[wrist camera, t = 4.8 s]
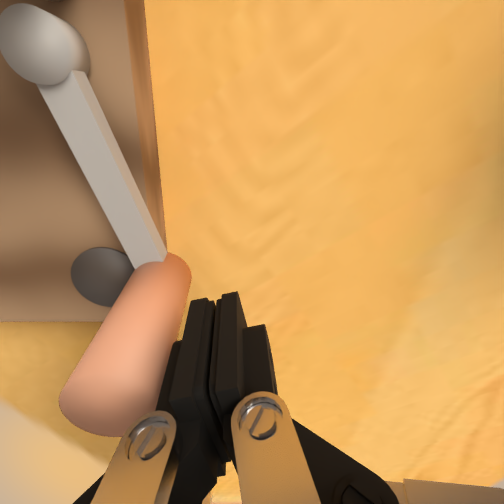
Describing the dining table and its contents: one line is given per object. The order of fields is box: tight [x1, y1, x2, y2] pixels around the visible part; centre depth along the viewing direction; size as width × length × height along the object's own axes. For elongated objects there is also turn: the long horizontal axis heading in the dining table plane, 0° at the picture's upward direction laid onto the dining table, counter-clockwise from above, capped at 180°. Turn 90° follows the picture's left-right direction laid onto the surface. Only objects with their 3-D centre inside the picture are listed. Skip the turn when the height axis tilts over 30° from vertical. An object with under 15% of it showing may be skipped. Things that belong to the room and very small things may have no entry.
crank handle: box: [0, 3, 192, 437], centre depth 10 cm, size 12×3×8 cm, turn 16°
